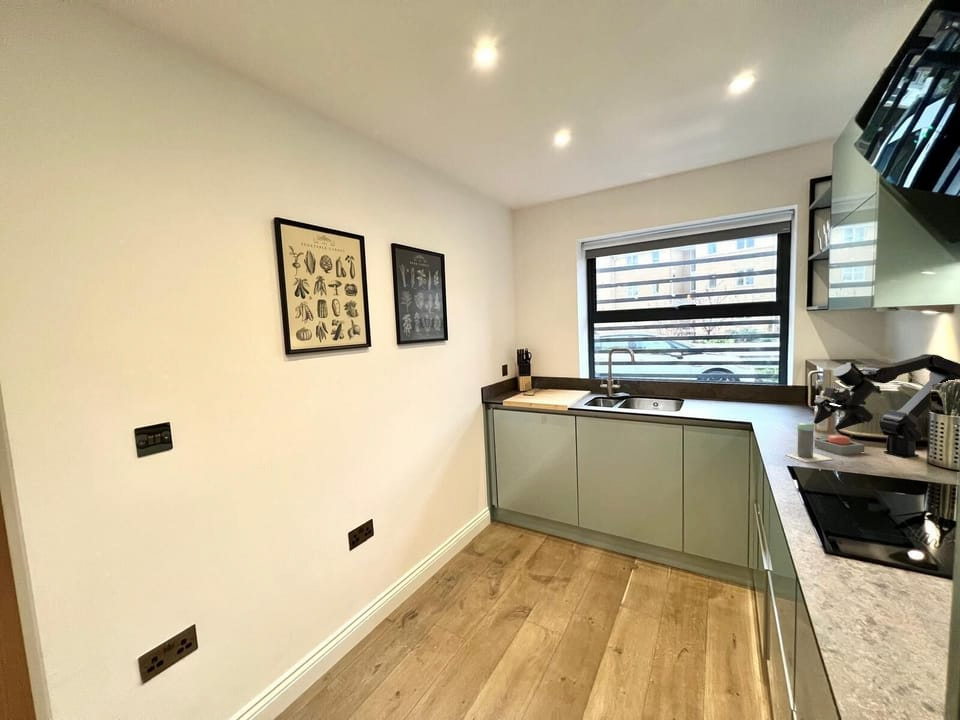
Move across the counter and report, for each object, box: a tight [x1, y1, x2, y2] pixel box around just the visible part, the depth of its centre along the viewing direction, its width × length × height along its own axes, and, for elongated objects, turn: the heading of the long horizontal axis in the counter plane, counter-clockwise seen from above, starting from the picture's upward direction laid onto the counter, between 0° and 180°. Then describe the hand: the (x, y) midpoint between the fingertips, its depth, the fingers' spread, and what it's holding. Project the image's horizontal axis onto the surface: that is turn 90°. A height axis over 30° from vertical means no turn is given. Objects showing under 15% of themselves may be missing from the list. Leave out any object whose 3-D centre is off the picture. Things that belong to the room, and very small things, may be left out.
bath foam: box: [813, 390, 838, 440], centre depth 165 cm, size 7×7×20 cm
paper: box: [786, 452, 834, 463], centre depth 144 cm, size 8×11×1 cm
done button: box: [828, 434, 851, 446], centre depth 150 cm, size 6×6×4 cm
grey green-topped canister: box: [796, 422, 814, 458], centre depth 144 cm, size 5×5×12 cm
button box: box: [814, 439, 865, 456], centre depth 151 cm, size 10×10×3 cm
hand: (825, 426), depth 143 cm, fingers open, 9 cm apart
